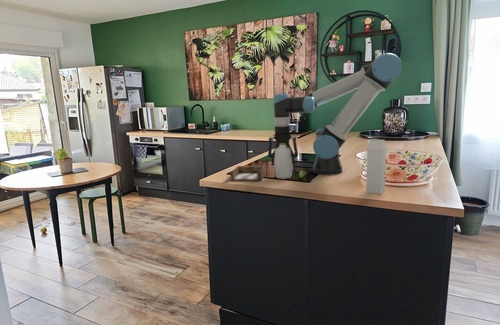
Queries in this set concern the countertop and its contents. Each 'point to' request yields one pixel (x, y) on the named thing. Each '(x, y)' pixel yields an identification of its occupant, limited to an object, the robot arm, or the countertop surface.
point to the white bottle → (283, 162)
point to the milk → (376, 166)
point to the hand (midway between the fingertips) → (283, 170)
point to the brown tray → (248, 173)
